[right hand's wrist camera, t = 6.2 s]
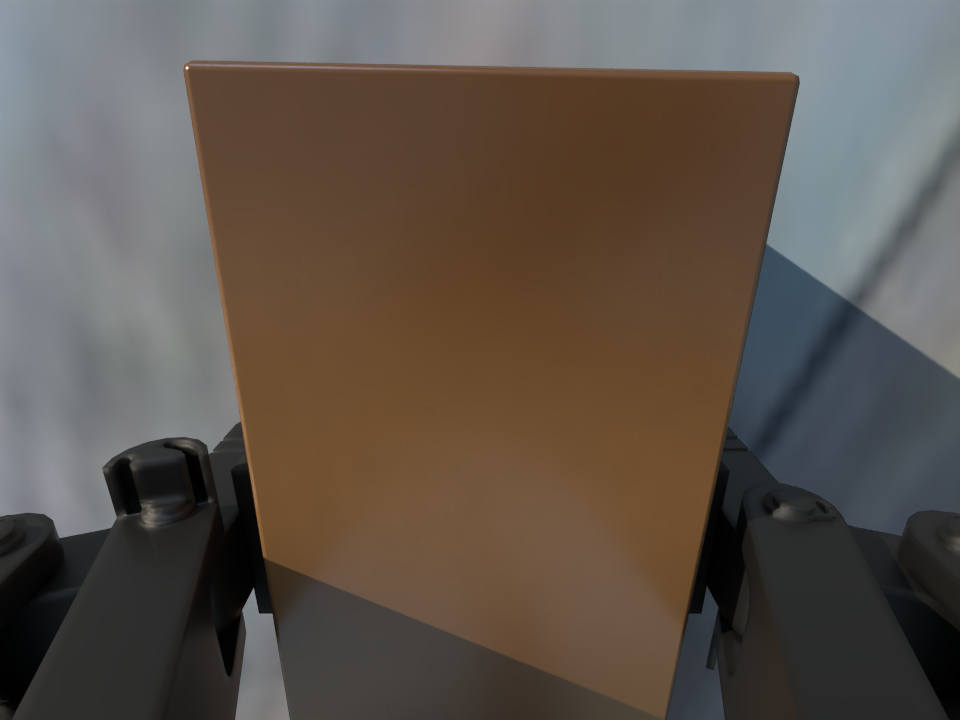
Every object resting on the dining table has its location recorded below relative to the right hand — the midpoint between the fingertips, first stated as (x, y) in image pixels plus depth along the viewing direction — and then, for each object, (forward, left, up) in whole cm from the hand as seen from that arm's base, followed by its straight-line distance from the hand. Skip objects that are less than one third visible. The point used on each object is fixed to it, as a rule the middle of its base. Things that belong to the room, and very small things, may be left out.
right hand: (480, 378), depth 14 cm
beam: (+3, +20, -1) cm, 20 cm away
